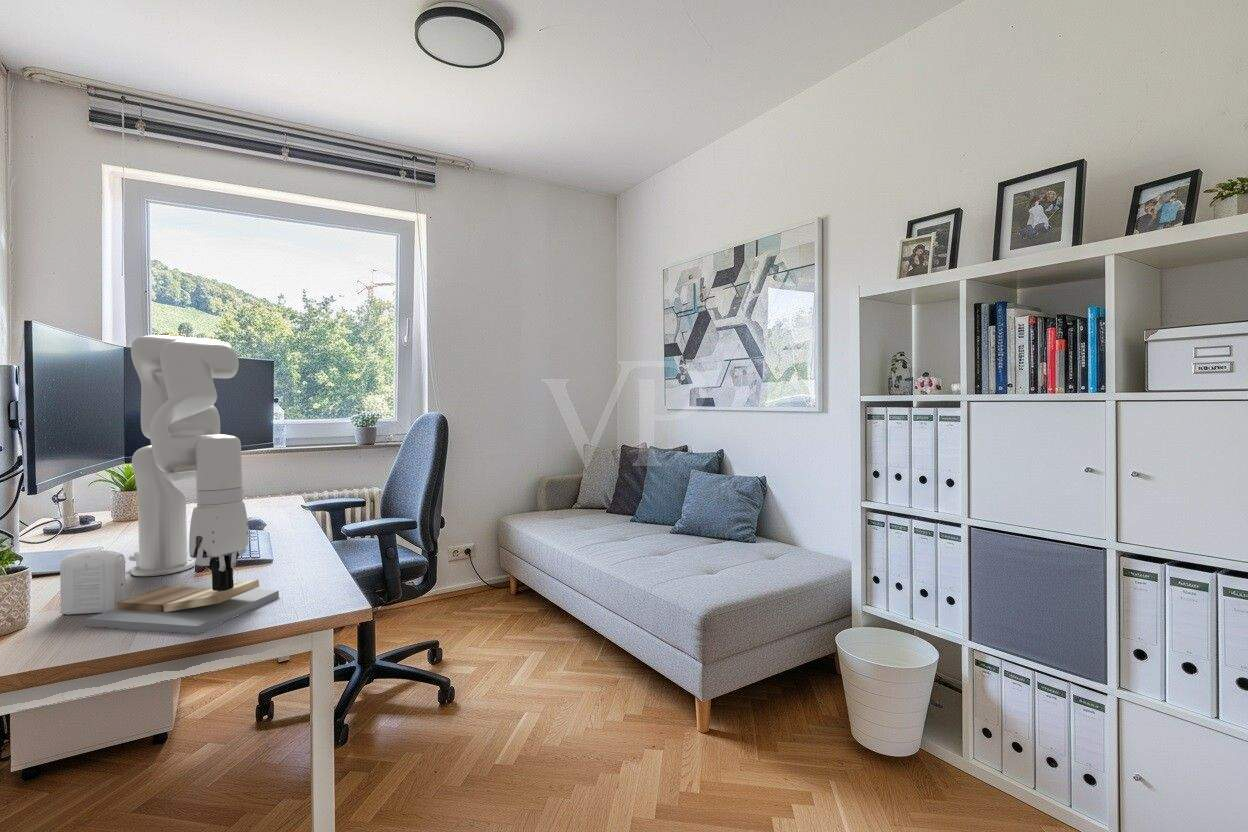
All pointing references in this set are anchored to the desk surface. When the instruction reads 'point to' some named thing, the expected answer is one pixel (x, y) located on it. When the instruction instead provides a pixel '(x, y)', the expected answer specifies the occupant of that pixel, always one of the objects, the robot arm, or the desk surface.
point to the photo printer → (92, 582)
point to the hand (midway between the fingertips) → (222, 589)
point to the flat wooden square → (156, 598)
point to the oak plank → (210, 596)
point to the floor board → (184, 614)
